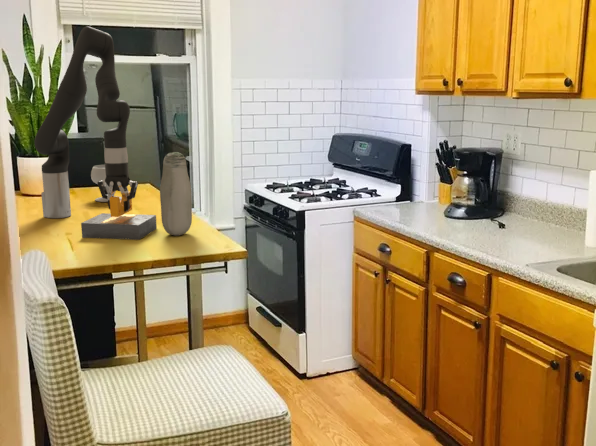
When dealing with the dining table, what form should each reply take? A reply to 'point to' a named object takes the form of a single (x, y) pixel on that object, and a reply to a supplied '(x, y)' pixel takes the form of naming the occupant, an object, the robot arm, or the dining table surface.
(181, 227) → the grey bottle
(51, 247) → the dining table surface
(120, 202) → the pipe clamp
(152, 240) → the dining table surface
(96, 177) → the chalice
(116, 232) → the steel riser
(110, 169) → the robot arm
